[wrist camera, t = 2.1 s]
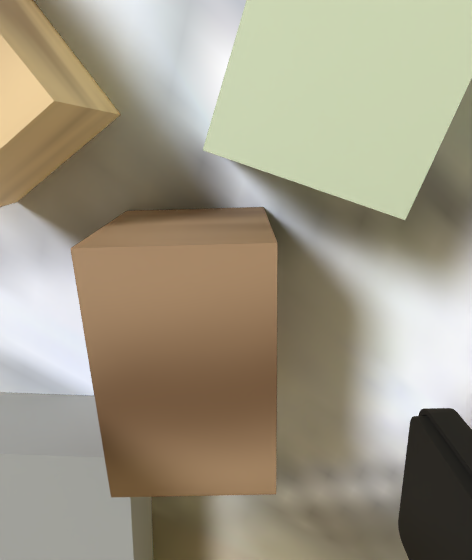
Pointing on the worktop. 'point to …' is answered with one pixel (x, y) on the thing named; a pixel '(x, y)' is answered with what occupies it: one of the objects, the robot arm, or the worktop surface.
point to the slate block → (63, 485)
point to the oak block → (41, 100)
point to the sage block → (345, 93)
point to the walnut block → (183, 349)
